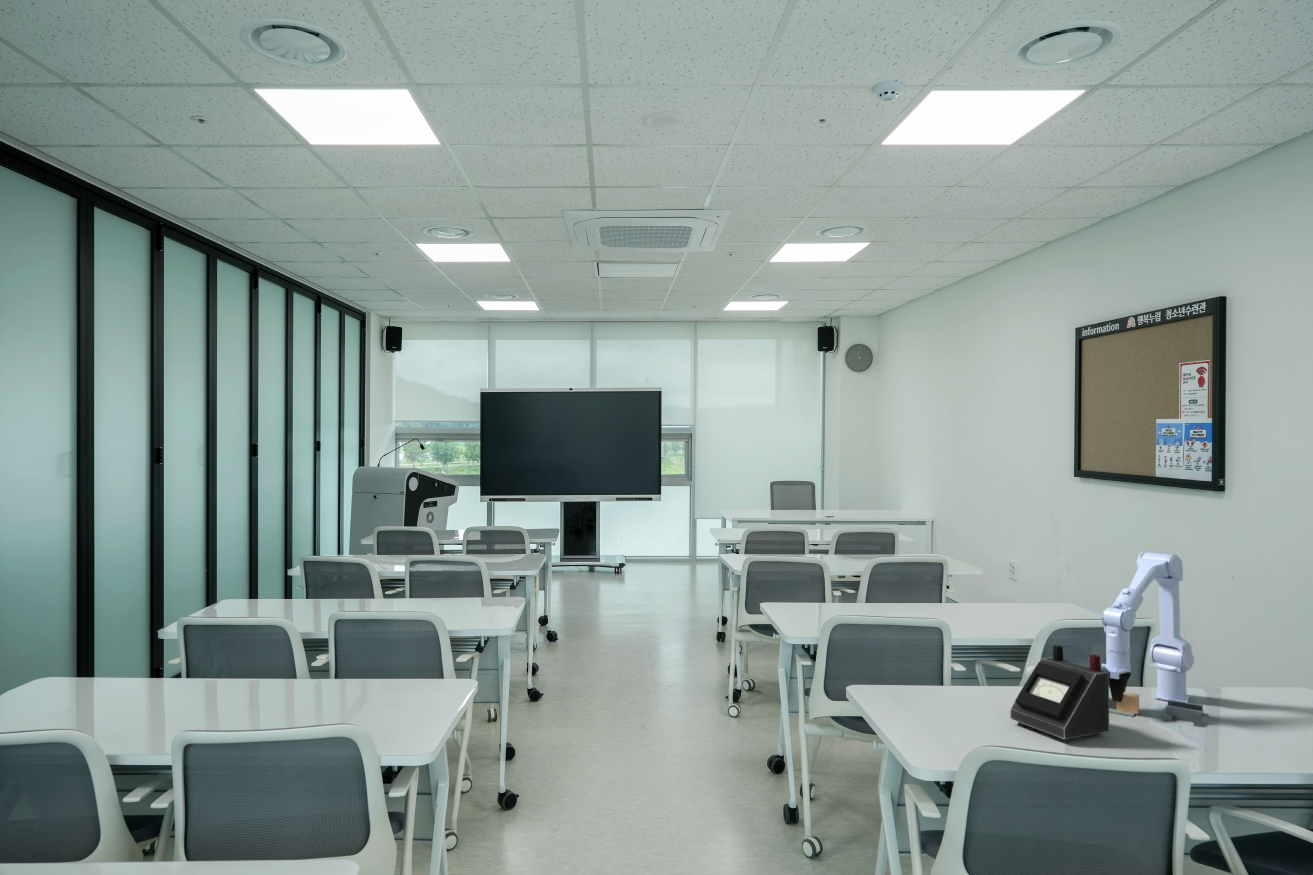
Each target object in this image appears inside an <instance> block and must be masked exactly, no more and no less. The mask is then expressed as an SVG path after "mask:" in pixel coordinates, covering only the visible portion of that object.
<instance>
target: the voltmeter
mask: <svg viewBox="0 0 1313 875" xmlns="http://www.w3.org/2000/svg"><path fill="white" fill-rule="evenodd" d="M1052 649H1053V650H1052V657H1044V658H1040V659H1039V661H1038V662H1037V664H1036V665H1035V669H1034V671H1033V672H1032V674H1031V675H1030V677H1028V678H1027V680H1026V681H1025V684H1024V685H1023V687H1022V688H1021V689H1020V691H1019V694H1018V695H1017V697H1016V699H1015V700H1014V702H1013V704H1012V706H1011V707H1010V709H1009V711H1010V714H1009V716H1010V717H1009V718H1010V719H1011V720H1013V721H1015V722H1017V724H1018V726H1019V727H1022V728H1027V727H1028V726H1029V727H1031V728H1034V729H1037V730H1039V731H1042V732H1044V733H1047V734H1050V735H1052V736H1055V737H1057V740H1058V741H1059V742H1060V743H1068V739H1073V738H1074V739H1075V738H1079V737H1085V736H1092V737H1101V734H1102V733H1108V732H1110V713H1109V698H1110V687H1109V672H1108V671H1106V670H1102V663H1101V655H1099V654H1092V653H1091V654H1090V655H1089V666H1087V665H1084V664H1079V663H1076V662H1072V661H1069V660H1066V659H1064V652H1063V651H1064V646H1063V645H1060V644H1058V645H1057V644H1053V646H1052Z"/></svg>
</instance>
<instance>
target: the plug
mask: <svg viewBox="0 0 1313 875" xmlns="http://www.w3.org/2000/svg"><path fill="white" fill-rule="evenodd" d="M1109 708H1111V709H1116V710H1117V711H1122V712H1127V713H1133V714H1135V715H1139V712H1140V694H1139V693H1138V694H1137V693H1133V692H1132V693H1130V692H1126V691H1125V692H1124V693H1123V699H1122V702H1116V701H1113V700H1112V697H1109Z"/></svg>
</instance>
